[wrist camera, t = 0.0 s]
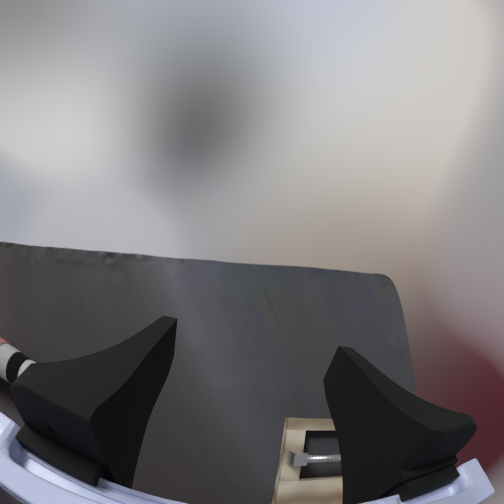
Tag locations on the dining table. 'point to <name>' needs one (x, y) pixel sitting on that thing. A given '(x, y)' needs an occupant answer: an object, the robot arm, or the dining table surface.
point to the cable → (12, 362)
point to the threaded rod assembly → (308, 458)
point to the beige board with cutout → (288, 482)
